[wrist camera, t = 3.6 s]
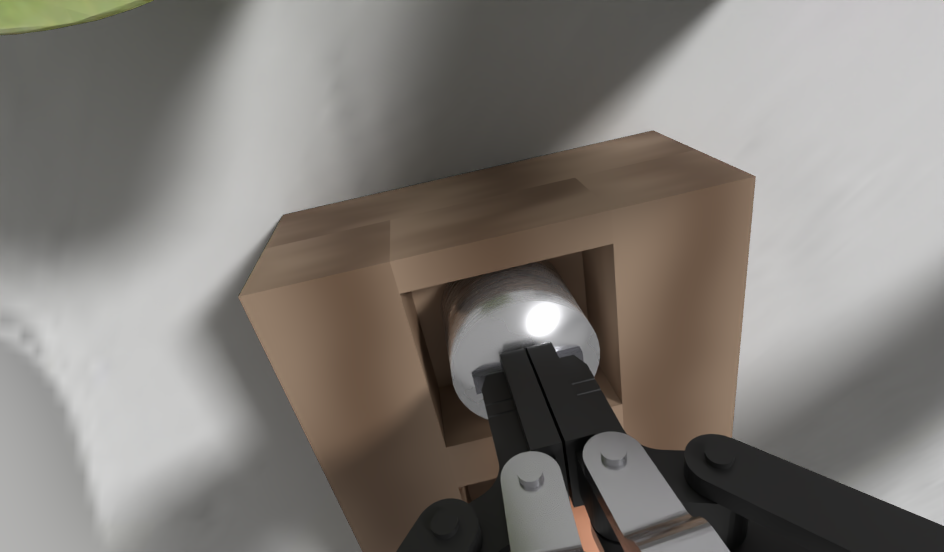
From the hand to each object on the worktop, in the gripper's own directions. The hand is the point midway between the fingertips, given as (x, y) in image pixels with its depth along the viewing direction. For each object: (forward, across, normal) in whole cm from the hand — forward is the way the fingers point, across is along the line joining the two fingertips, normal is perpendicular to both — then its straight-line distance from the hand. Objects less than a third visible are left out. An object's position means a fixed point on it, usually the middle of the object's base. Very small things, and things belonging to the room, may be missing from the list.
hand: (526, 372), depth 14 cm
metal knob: (+4, 0, 0) cm, 4 cm away
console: (+7, 0, +8) cm, 11 cm away
